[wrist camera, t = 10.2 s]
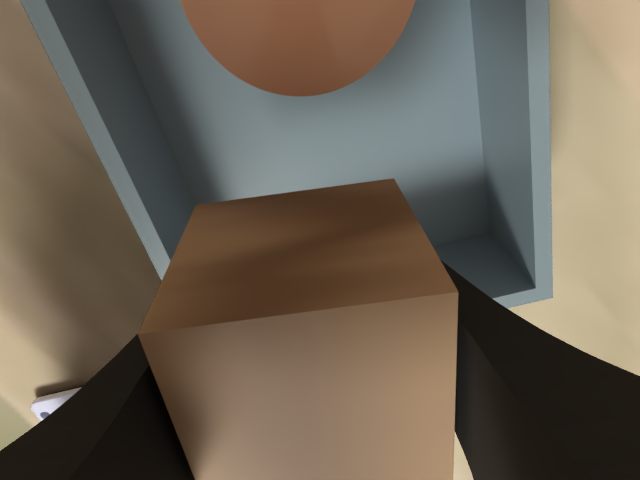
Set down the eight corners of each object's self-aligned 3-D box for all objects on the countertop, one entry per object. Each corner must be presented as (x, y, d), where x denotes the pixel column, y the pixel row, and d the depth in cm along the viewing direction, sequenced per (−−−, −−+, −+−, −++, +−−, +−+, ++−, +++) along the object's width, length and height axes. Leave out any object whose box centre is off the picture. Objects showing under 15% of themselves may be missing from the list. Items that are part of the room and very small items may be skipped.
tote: (498, 234, 21) (552, 297, 17) (226, 300, 22) (209, 376, 18) (459, -278, 13) (542, -415, 9) (35, -139, 14) (-82, -200, 10)
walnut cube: (393, 178, 11) (458, 291, 7) (401, 333, 14) (452, 491, 9) (195, 204, 12) (137, 334, 7) (236, 355, 14) (212, 522, 9)
